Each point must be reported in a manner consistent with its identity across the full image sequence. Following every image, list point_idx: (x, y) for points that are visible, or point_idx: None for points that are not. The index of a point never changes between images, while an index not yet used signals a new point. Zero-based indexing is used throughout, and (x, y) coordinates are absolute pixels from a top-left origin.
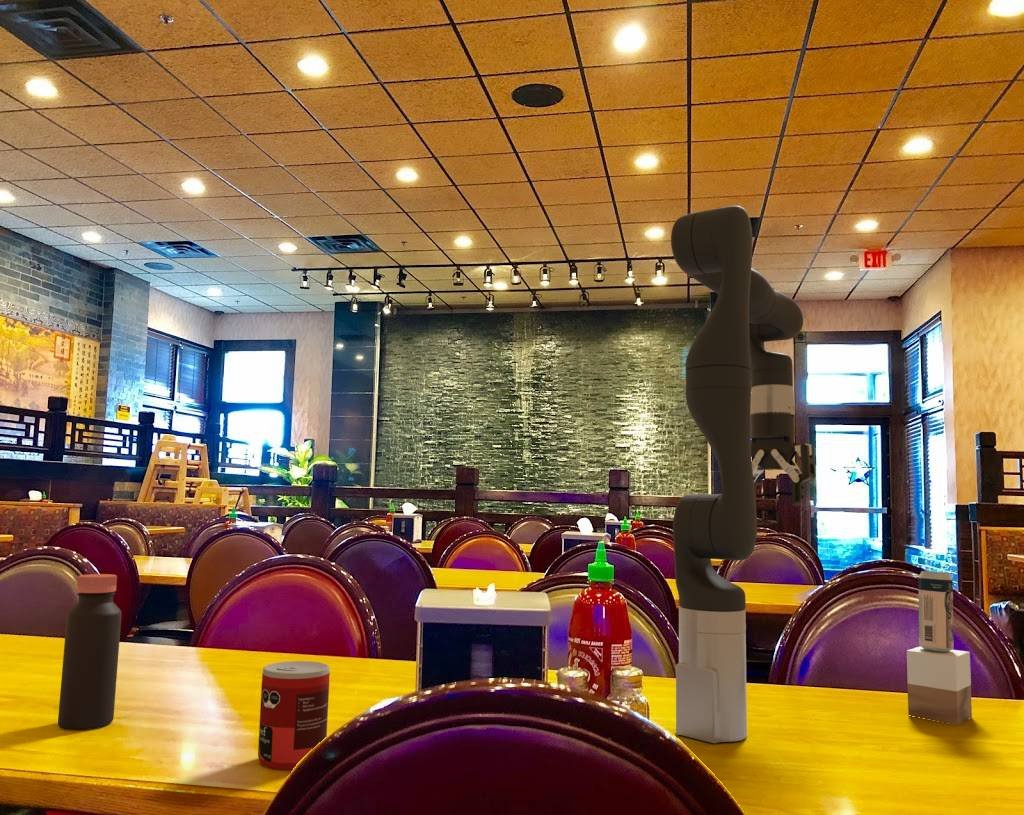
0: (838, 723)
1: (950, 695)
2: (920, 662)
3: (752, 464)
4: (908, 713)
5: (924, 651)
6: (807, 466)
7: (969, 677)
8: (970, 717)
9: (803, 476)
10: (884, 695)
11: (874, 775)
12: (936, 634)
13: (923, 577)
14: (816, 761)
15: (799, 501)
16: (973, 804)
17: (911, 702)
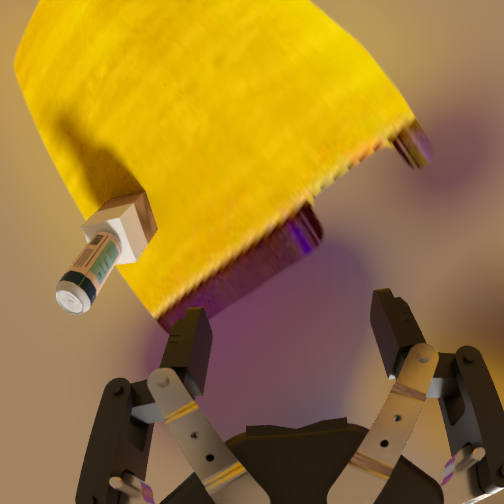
0: (157, 105)
1: (102, 208)
2: (112, 215)
3: (403, 422)
4: (144, 191)
5: (109, 229)
6: (99, 420)
7: None
8: None
9: (127, 386)
10: (209, 249)
11: (66, 21)
12: (90, 241)
13: (70, 282)
14: (102, 3)
15: (178, 319)
16: (21, 43)
17: (137, 196)
